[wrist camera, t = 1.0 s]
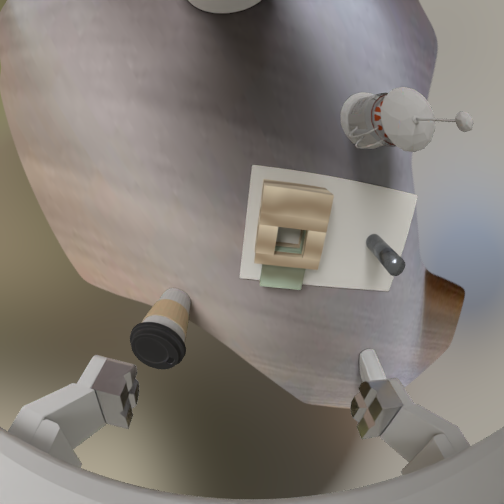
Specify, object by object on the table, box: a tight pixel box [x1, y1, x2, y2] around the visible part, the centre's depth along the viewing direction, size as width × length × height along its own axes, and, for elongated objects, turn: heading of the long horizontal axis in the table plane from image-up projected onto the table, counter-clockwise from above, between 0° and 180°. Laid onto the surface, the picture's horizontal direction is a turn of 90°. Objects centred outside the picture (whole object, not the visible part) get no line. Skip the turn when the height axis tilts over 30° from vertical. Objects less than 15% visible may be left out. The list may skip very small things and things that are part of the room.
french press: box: [340, 87, 473, 152], centre depth 27 cm, size 10×12×25 cm
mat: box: [240, 165, 418, 291], centre depth 47 cm, size 20×30×1 cm, turn 83°
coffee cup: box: [130, 288, 191, 369], centre depth 46 cm, size 9×9×15 cm
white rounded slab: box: [359, 349, 386, 382], centre depth 55 cm, size 10×4×12 cm, turn 16°
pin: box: [366, 234, 405, 276], centre depth 42 cm, size 3×3×10 cm
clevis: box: [254, 179, 334, 290], centre depth 44 cm, size 17×10×6 cm, turn 173°
